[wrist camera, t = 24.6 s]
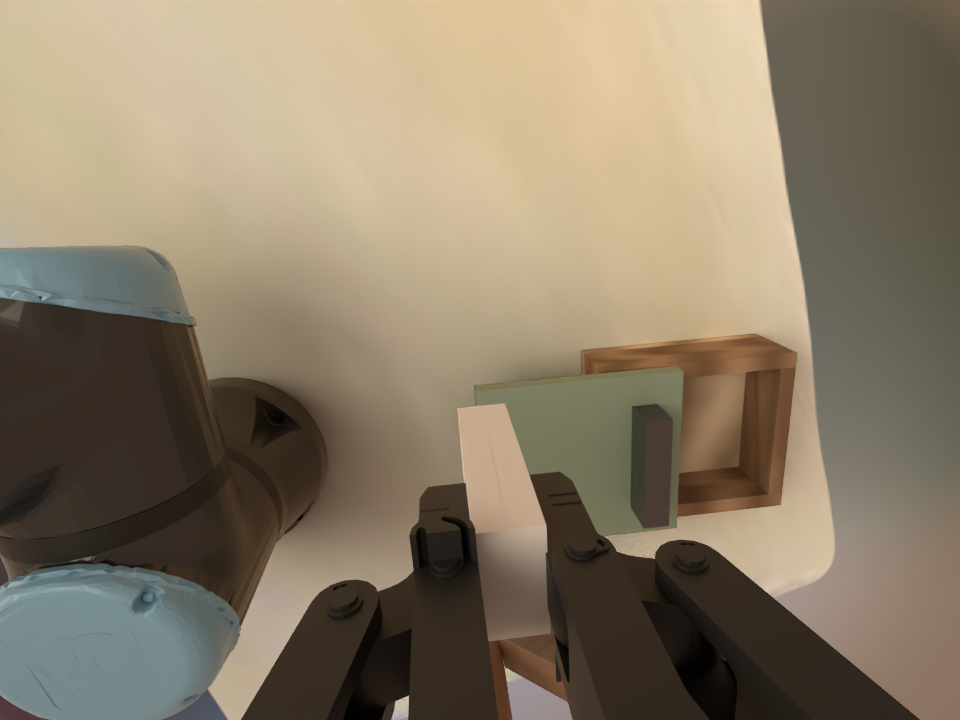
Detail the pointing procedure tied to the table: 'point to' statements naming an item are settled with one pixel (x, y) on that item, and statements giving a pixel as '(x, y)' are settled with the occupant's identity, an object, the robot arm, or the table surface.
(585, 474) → the lid
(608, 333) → the table surface
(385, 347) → the table surface
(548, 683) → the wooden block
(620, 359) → the wooden box
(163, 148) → the table surface
